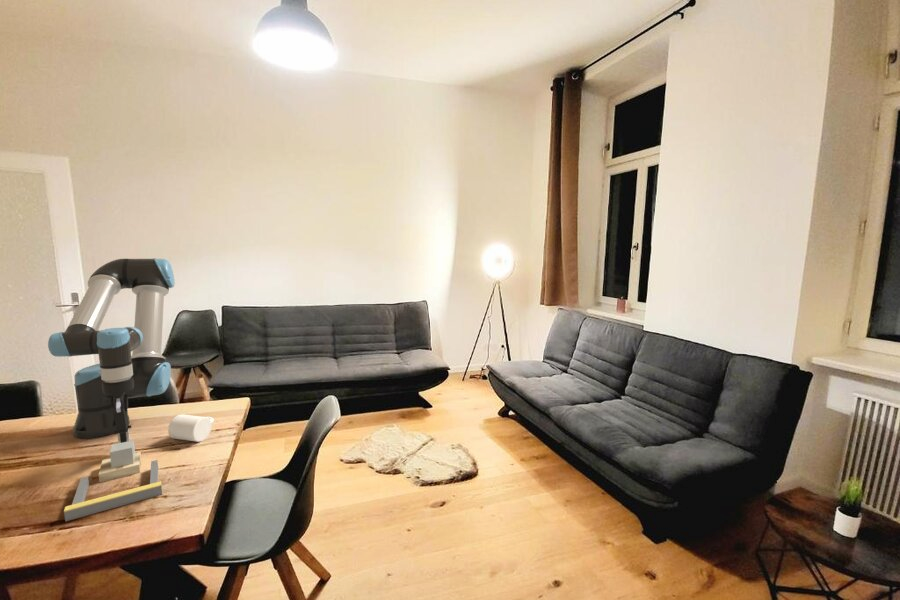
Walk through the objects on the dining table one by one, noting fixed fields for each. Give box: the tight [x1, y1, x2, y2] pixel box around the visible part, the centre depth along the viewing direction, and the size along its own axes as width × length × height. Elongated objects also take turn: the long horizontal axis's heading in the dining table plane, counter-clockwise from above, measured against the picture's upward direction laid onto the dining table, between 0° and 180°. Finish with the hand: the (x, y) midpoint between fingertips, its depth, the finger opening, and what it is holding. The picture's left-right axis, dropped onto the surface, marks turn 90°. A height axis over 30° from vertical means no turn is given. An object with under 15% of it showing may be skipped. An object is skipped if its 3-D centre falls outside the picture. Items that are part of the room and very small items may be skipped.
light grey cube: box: [109, 440, 136, 468], centre depth 118 cm, size 5×5×5 cm
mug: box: [167, 413, 215, 443], centre depth 139 cm, size 12×10×8 cm
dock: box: [63, 459, 163, 522], centre depth 108 cm, size 16×19×3 cm
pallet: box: [98, 450, 142, 483], centre depth 118 cm, size 9×9×3 cm
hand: (125, 450), depth 126 cm, fingers closed
